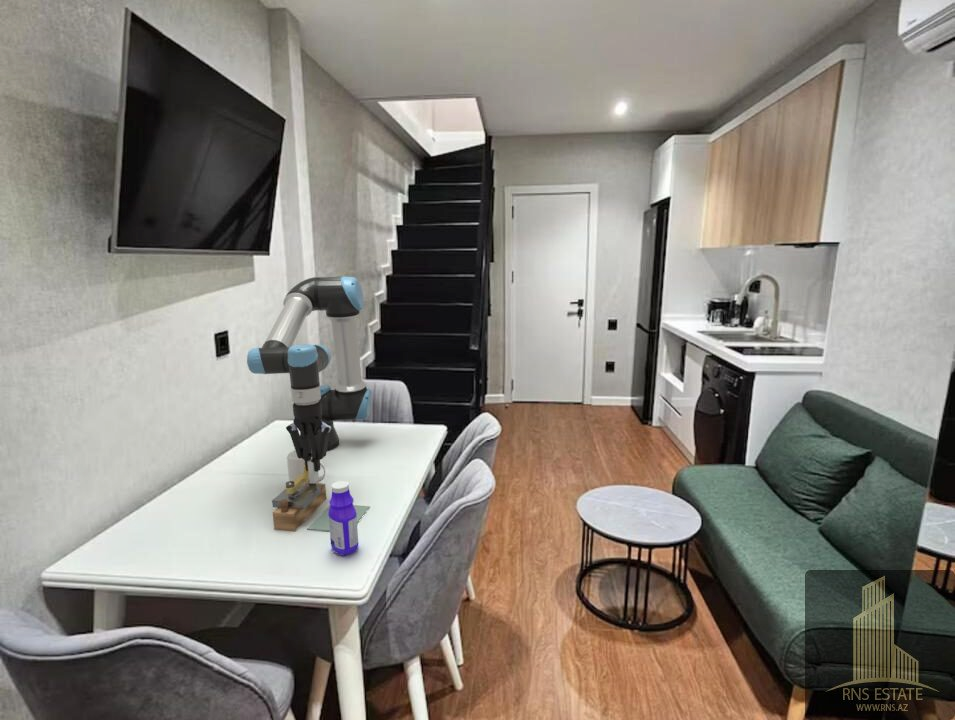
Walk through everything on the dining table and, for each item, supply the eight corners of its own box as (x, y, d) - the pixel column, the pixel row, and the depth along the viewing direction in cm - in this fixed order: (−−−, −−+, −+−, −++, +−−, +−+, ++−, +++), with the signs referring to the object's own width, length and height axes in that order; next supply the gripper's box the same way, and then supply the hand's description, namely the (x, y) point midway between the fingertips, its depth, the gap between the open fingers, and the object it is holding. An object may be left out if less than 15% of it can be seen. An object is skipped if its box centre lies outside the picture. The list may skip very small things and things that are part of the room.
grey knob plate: (292, 490, 145) (291, 482, 144) (321, 492, 143) (320, 484, 143) (272, 507, 135) (271, 498, 135) (303, 509, 134) (302, 500, 133)
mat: (331, 504, 147) (331, 503, 146) (369, 507, 144) (369, 506, 144) (307, 529, 133) (307, 528, 133) (349, 533, 131) (349, 532, 131)
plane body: (308, 497, 151) (304, 463, 149) (326, 499, 150) (323, 464, 148) (274, 529, 134) (270, 491, 131) (294, 531, 133) (290, 492, 130)
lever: (308, 471, 149) (307, 459, 148) (320, 472, 148) (319, 460, 147) (282, 493, 135) (281, 480, 134) (294, 494, 135) (293, 481, 134)
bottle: (363, 549, 124) (358, 484, 120) (343, 560, 119) (338, 492, 116) (346, 539, 128) (341, 476, 125) (327, 548, 124) (321, 483, 121)
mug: (319, 492, 154) (316, 460, 152) (284, 490, 156) (281, 458, 154) (332, 480, 162) (330, 449, 160) (299, 478, 165) (296, 447, 163)
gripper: (277, 404, 135) (286, 485, 139) (322, 406, 132) (329, 488, 137) (292, 397, 142) (299, 474, 147) (335, 398, 140) (341, 476, 144)
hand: (314, 481), depth 142 cm, fingers closed
